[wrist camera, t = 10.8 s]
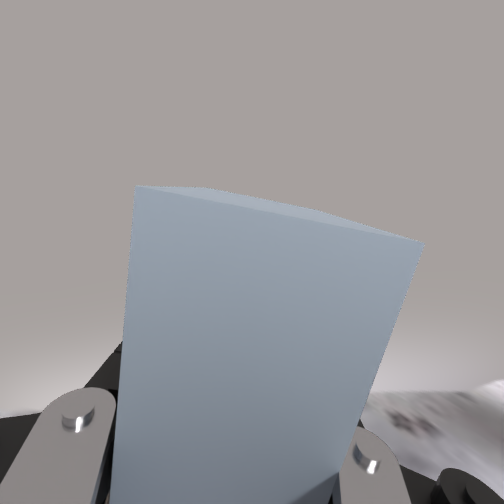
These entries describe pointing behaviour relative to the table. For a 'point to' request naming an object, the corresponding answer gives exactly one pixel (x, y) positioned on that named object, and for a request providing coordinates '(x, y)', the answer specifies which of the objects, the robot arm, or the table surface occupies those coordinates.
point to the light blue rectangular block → (248, 346)
